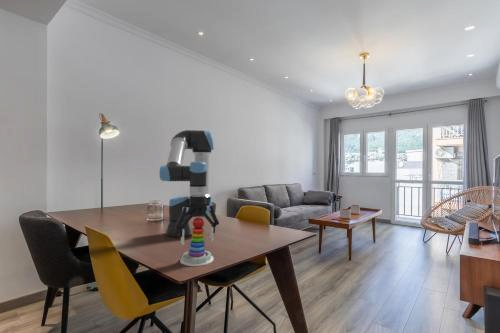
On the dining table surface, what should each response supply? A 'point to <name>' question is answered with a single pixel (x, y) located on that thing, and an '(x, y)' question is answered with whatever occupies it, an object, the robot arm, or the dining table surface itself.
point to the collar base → (196, 259)
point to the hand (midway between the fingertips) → (197, 242)
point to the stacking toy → (197, 240)
